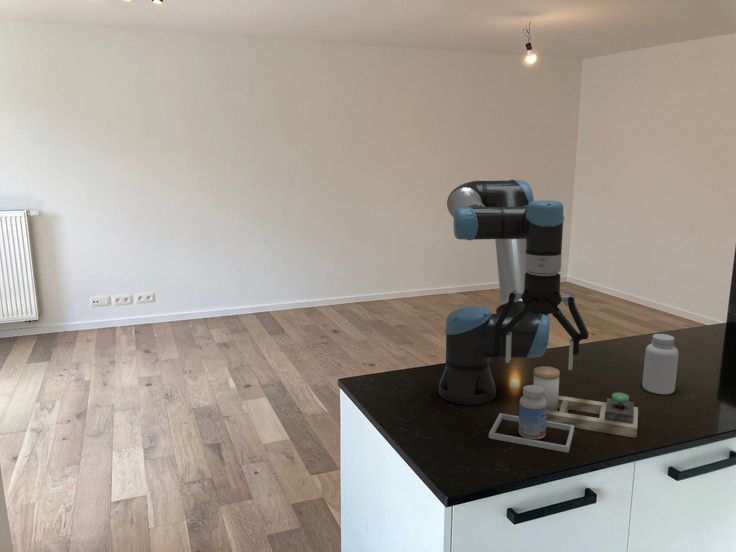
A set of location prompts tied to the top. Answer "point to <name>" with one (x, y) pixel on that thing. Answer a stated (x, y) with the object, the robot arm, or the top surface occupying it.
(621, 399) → the button
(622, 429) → the wooden divided rack
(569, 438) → the white rectangular frame
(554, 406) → the white canister
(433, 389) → the top surface
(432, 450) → the top surface
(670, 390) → the pill bottle
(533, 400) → the pill bottle
